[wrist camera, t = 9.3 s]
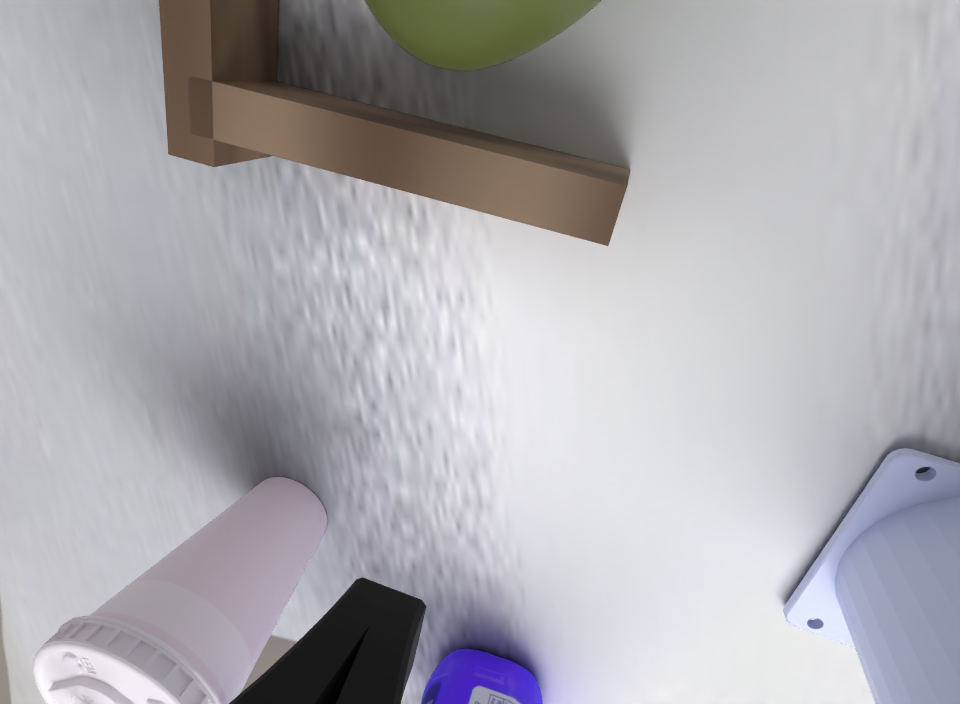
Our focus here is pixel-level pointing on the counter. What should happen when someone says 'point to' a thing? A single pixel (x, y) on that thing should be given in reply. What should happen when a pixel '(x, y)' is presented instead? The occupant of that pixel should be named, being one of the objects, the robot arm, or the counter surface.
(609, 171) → the walnut frame
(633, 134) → the counter surface
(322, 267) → the counter surface
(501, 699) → the bottle
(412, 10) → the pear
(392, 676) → the robot arm
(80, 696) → the smoothie
